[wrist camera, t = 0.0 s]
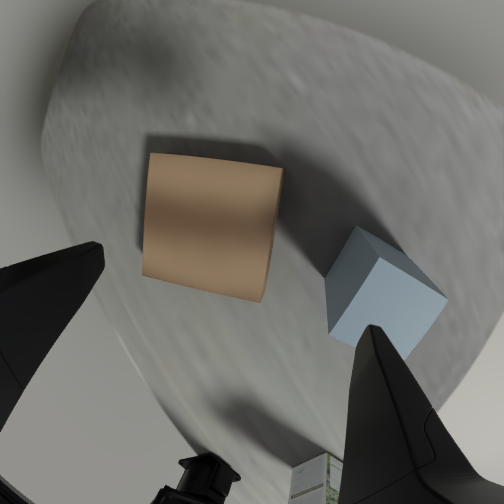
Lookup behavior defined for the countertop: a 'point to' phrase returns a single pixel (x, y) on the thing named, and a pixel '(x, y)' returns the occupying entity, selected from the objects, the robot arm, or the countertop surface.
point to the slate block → (379, 293)
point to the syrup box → (316, 481)
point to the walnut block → (211, 223)
